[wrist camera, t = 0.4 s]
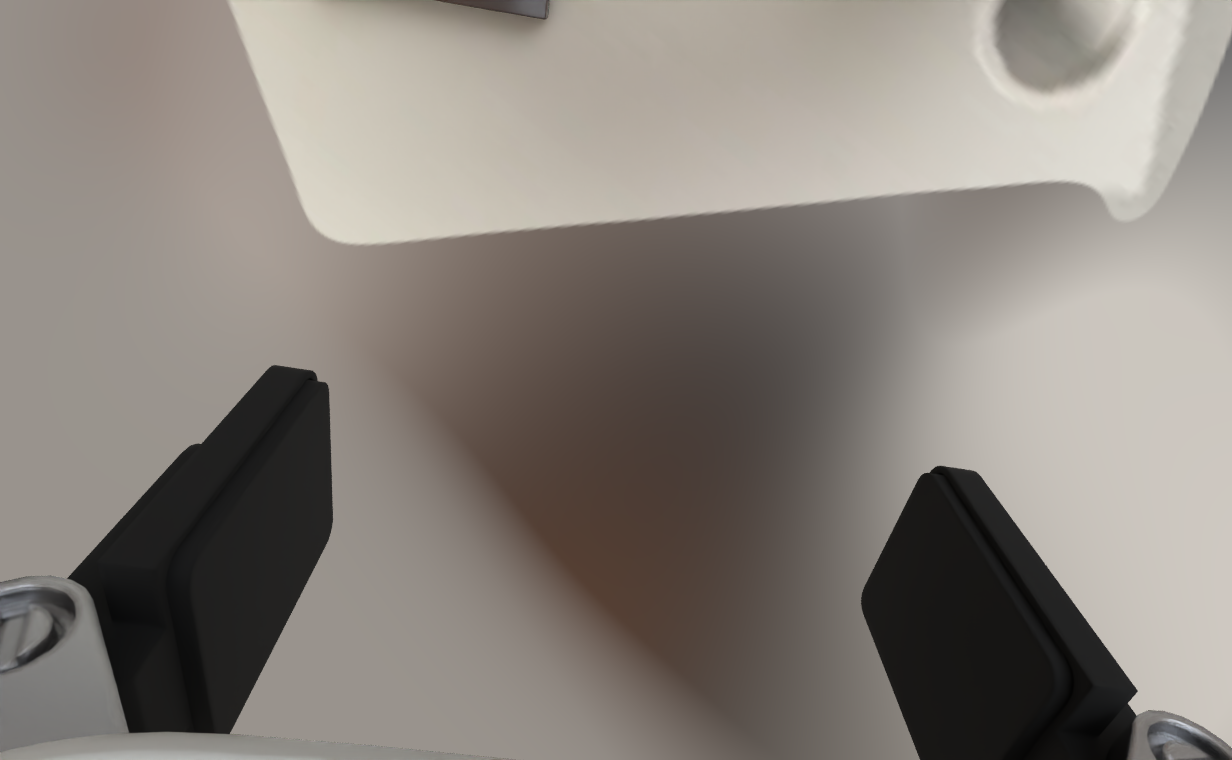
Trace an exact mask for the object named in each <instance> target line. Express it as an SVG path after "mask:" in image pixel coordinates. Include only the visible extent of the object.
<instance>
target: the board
mask: <svg viewBox="0 0 1232 760" xmlns="http://www.w3.org/2000/svg"><path fill="white" fill-rule="evenodd" d="M436 1H441V2H447V3H453V4H459V5H464V6H470V7H476V8H482V9H488V10H493V11H499V12H505V13H511V14H516V15H522V16H528V17H534V18H540V19H547V18H548V11H549V0H436Z"/></svg>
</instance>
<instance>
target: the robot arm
mask: <svg viewBox="0 0 1232 760" xmlns="http://www.w3.org/2000/svg"><path fill="white" fill-rule="evenodd" d="M331 474H332V473H331V440H330V408H329V389H328V385H327V384H326V383H325V382H318V381H317V376H316V374H315V373H314V372H313V371H310V370H304V369H297V368H291V367H284V366H277V365H274V366H271V367H270V368H269V369H268V370H267V371H266V372H265V373H264V374H263V375H262V376H261V378H260V379H259V380H258V381H257V382H256V383H255V384H254V385H253V387H252V388H251V389H250V390H249V391H248V392H247V393H246V394H245V396H244V397H243V398H242V399H241V400H240V401H239V402H238V403H237V405H236V406H235V407H234V408H233V409H232V410H231V411H230V413H229V414H228V415H227V416H226V417H225V418H224V419H223V420H222V421H221V423H220V424H219V425H218V426H217V427H216V428H215V430H214V431H213V432H212V433H211V434H210V435H209V436H208V437H207V438H206V439H205V441H204V442H203V443H202V444H194V445H191V446H189V447H188V448H187V449H186V450H185V451H183V452H182V453H181V454H180V455H179V457H178V458H177V459H176V460H175V461H174V462H173V463H172V464H171V465H170V466H169V467H168V469H167V470H166V471H165V472H164V473H163V474H162V475H161V476H160V477H159V478H158V480H157V481H156V482H155V483H154V484H153V485H152V486H151V487H150V488H149V489H148V491H147V492H146V493H145V494H144V495H143V496H142V497H141V498H140V499H139V500H138V501H137V503H136V504H135V505H134V506H133V507H132V508H131V509H130V510H129V511H128V513H126V515H125V516H124V517H123V518H122V519H121V520H120V521H119V522H118V523H117V524H116V525H115V527H114V528H113V529H112V530H111V531H110V532H109V533H108V534H107V536H106V537H105V538H104V539H103V540H102V541H101V542H100V543H99V544H98V545H97V547H95V549H94V550H93V551H92V552H91V553H90V554H89V555H88V556H87V557H86V558H85V560H84V561H83V562H82V563H81V564H80V565H79V566H78V567H77V568H76V569H75V570H74V572H73V573H72V574H71V575H70V576H69V577H68V578H67V579H65V578H60V577H55V576H30V577H23V578H18V579H13V580H8V581H4V582H0V760H513V759H504V758H494V757H484V756H483V757H482V756H473V755H463V754H453V753H443V752H433V751H423V750H413V749H403V748H393V747H383V746H372V745H361V744H348V743H336V742H324V741H311V740H300V739H288V738H276V737H264V736H251V735H239V734H230V732H231V730H232V728H233V726H234V724H235V722H236V720H237V718H238V717H239V715H240V713H241V711H242V709H243V707H244V705H245V703H246V701H247V699H248V697H249V695H250V693H251V691H252V689H253V687H254V685H255V683H256V681H257V679H258V677H259V675H260V673H261V672H262V670H263V667H264V666H265V664H266V662H267V660H268V658H269V656H270V654H271V652H272V650H273V648H274V646H275V644H276V642H277V640H278V638H279V636H280V634H281V632H282V630H283V628H284V626H285V624H286V623H287V621H288V619H289V616H290V615H291V613H292V611H293V609H294V607H295V605H296V603H297V601H298V599H299V597H300V595H301V593H302V591H303V589H304V587H305V585H306V583H307V581H308V579H309V577H310V575H311V573H312V571H313V569H314V568H315V566H316V564H317V562H318V560H319V558H320V556H321V554H322V552H323V550H324V548H325V546H326V544H327V542H328V540H329V536H330V533H331V529H332V523H333V509H332V508H333V507H332V475H331ZM861 599H862V600H861V605H862V611H863V614H864V617H865V619H866V622H867V625H868V627H869V630H870V632H871V635H872V637H873V640H874V642H875V645H876V648H877V650H878V653H879V655H880V658H881V660H882V663H883V665H884V668H885V671H886V673H887V676H888V678H889V681H890V683H891V686H892V688H893V691H894V694H895V696H896V699H897V702H898V704H899V707H900V709H901V712H902V714H903V717H904V719H905V722H906V724H907V727H908V730H909V732H910V735H911V737H912V740H913V743H914V745H915V747H916V750H917V753H918V756H919V758H920V760H1232V748H1231V747H1230V746H1229V745H1228V744H1226V743H1225V742H1224V741H1223V740H1221V739H1220V738H1218V737H1217V736H1215V735H1214V734H1212V733H1211V732H1210V731H1208V730H1207V729H1205V728H1204V727H1202V726H1200V725H1198V724H1196V723H1194V722H1192V721H1190V720H1188V719H1186V718H1184V717H1182V716H1179V715H1175V714H1172V713H1168V712H1165V711H1152V710H1148V711H1146V712H1143V713H1141V714H1139V715H1137V716H1136V714H1135V713H1134V712H1133V710H1132V709H1131V707H1130V706H1129V705H1128V702H1129V701H1130V700H1131V699H1132V697H1133V696H1134V695H1135V694H1136V693H1137V689H1136V688H1135V686H1134V685H1133V684H1132V682H1131V681H1130V680H1129V678H1128V677H1127V676H1126V674H1125V673H1124V671H1123V670H1122V669H1121V667H1120V666H1119V665H1118V663H1117V662H1116V660H1115V659H1114V658H1113V656H1112V655H1111V654H1110V652H1109V651H1108V650H1107V648H1106V647H1105V646H1104V644H1103V643H1102V642H1101V640H1100V639H1099V637H1098V636H1097V635H1096V633H1095V632H1094V631H1093V629H1092V628H1091V626H1090V625H1089V624H1088V622H1087V621H1086V619H1085V618H1084V617H1083V615H1082V614H1081V613H1080V611H1079V610H1078V609H1077V607H1076V606H1075V604H1074V603H1073V602H1072V600H1071V599H1070V598H1069V596H1068V595H1067V594H1066V592H1065V591H1064V589H1063V588H1062V587H1061V586H1060V584H1059V583H1058V581H1057V580H1056V579H1055V577H1054V576H1053V574H1052V573H1051V572H1050V570H1049V569H1048V568H1047V566H1046V565H1045V564H1044V562H1043V561H1042V559H1041V558H1040V557H1039V555H1038V554H1037V553H1036V551H1035V550H1034V548H1033V547H1032V546H1031V545H1030V543H1029V542H1028V540H1027V539H1026V538H1025V536H1024V535H1023V533H1022V532H1021V531H1020V529H1019V528H1018V527H1017V525H1016V524H1015V522H1014V521H1013V520H1012V518H1011V517H1010V516H1009V514H1008V513H1007V512H1006V510H1005V509H1004V507H1003V506H1002V505H1001V504H1000V502H999V501H998V500H997V498H996V497H995V495H994V494H993V493H992V491H991V490H990V488H989V487H988V486H987V484H986V483H985V482H984V480H983V479H982V477H981V476H980V475H979V474H978V473H977V472H975V471H971V470H965V469H958V468H951V467H945V466H937V467H935V468H934V469H933V470H931V472H930V473H924V474H923V475H921V476H920V478H919V479H918V481H917V483H916V485H915V487H914V489H913V491H912V493H911V495H910V497H909V499H908V501H907V503H906V505H905V507H904V509H903V511H902V513H901V515H900V517H899V519H898V521H897V523H896V525H895V527H894V529H893V531H892V533H891V535H890V537H889V539H888V541H887V543H886V545H885V547H884V549H883V551H882V553H881V555H880V557H879V559H878V561H877V563H876V565H875V567H874V569H873V571H872V573H871V575H870V577H869V579H868V581H867V583H866V585H865V587H864V589H863V592H862V597H861Z"/></svg>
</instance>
